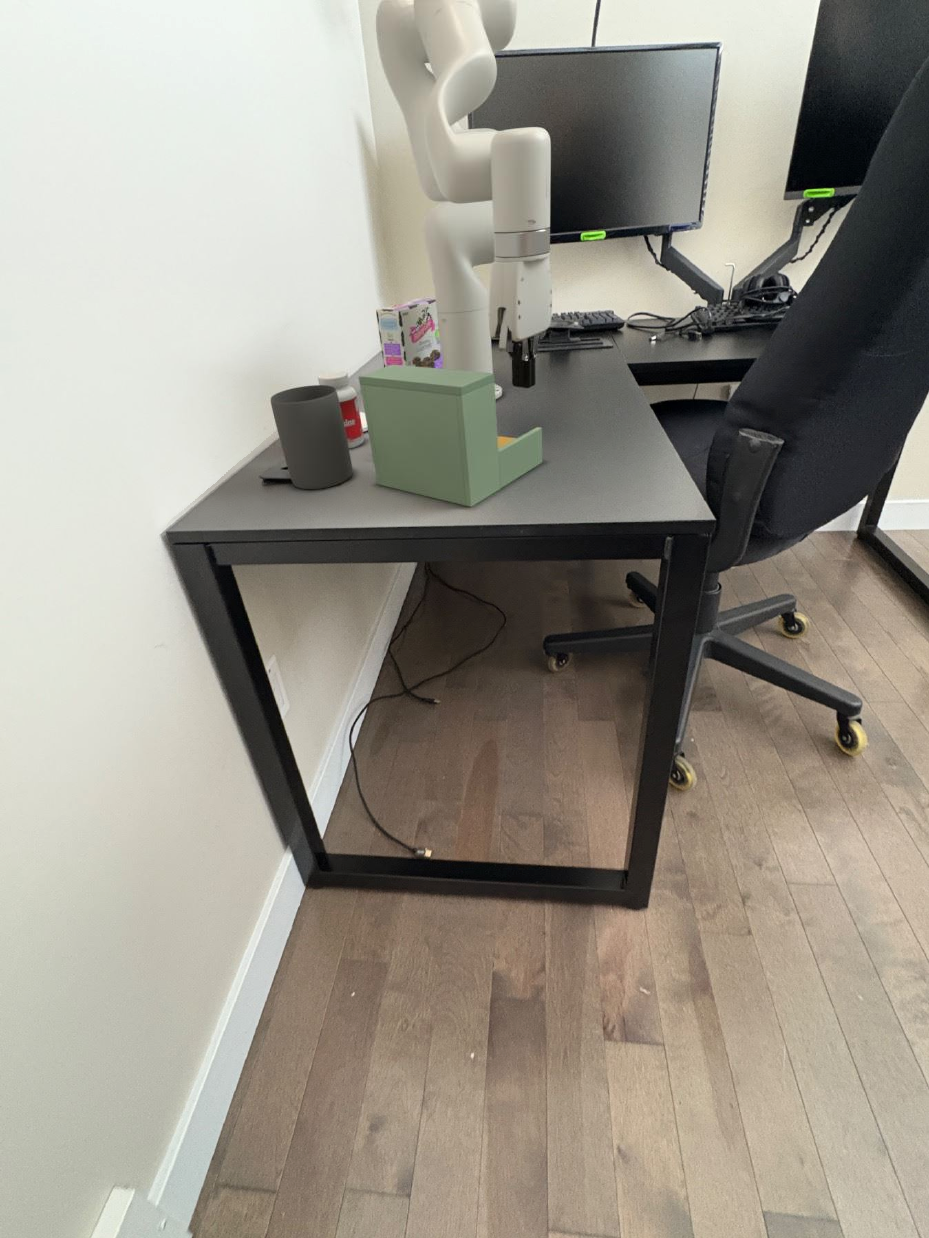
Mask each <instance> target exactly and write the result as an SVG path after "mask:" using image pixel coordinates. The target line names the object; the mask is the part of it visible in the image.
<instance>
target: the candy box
mask: <svg viewBox="0 0 929 1238" xmlns="http://www.w3.org/2000/svg"><path fill="white" fill-rule="evenodd" d="M375 314H376V315H375V316H376V320H377V328H378V336H379V341H380V342H379V343H380V350H381V355H382V362H383V368H384V367H387V366H390V365H403V366H415V367H427V368H438V369H443V366H442V356H441V346H440V337H439V327H438V317H437V308H436V299H435V298H415V299H412V300H408V301H405V302H401V303H398V304H394V305H391V306H386V307H383V308H378V309H375Z"/></svg>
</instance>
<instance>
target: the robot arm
mask: <svg viewBox="0 0 929 1238" xmlns="http://www.w3.org/2000/svg"><path fill="white" fill-rule="evenodd" d="M517 9H518V8H517V0H381V1H380V2H379V4H378V7H377V10H376V15H375V34H376V41H377V48H378V53H379V59H380V62H381V66H382V69H383V72H384V76H385V78H386V81H387V84H388V86H389V88H390V90H391V92H392V94H393V96H394V98H395V100H396V102H397V104H398V106H399V108H400V111H401V113H402V115H403V118H404V123H405V125H406V130H407V135H408V139H409V143H410V148H411V151H412V156H413V161H414V165H415V169H416V173H417V177H418V181H419V184H420V187H421V189H422V191H423V194H424V195H425V197H426V198H427V199H429V200H430V201H433V202H438V203H439V202H441V203H439V204H437V205H435V206H433V207H432V208H430V209H429V210H428V212H427V213H426V214H425V217H424V219H423V224H422V235H423V241H424V246H425V249H426V250H425V251H426V253H427V258H428V262H429V267H430V271H431V277H432V283H433V290H434V297H435V298H434V299H436V308H437V317H438V327H439V337H440V346H441V356H442V366H443V369H450V370H461V371H473V372H484V373H494V368H493V350H492V349H493V348H492V340H494V341H497V340H499V341H498V351H499V352H503V353H507V354H508V358H509V360H510V361H511V379H512V380H511V385H512V386H513V387H515V388H521V389H530V388H532V387H534V386H535V385H536V358H537V356H538V352H539V344H540V342H541V341H542V340H543V339H544V338H545V337H546V334H547V330H548V329H549V327H550V326H551V325H552V316H553V315H552V314H553V290H552V289H553V286H552V272H551V263H550V256H551V178H552V177H551V173H552V172H551V170H552V169H551V167H552V166H551V165H552V164H551V163H552V161H551V160H552V152H551V151H552V150H551V149H552V145H551V144H552V143H551V136H550V134H549V132H548V131H547V130H546V129H545V128H543V127H539V126H530V127H518V128H510V129H503V130H496V129H494V128H488V127H484V128H483V127H481V128H469V129H467V128H463V127H461V125H460V124H459V121H460V120H462V119H463V118H465V117H466V116H468V115H469V114H472V112H475V110H477V109H479V108H480V106H482V105H483V104H484V103H485V102H486V101H487V99H488V98H489V96H490V95H491V93H492V92H493V89H494V87H495V85H496V81H497V75H498V65H497V60H496V57H495V54H497V53H499V52H501V51H502V50H504V49H505V48H507V46H508V45H509V44H510V43H511V41H512V38H513V36H514V34H515V30H516V24H517V15H518V14H517V13H518V11H517ZM426 64H429V65H430V68H431V71H430V70H429V68H427V65H426ZM488 264H491V269H490V280H489V294H488V290H487V287H486V286H485V284H484V282H483V281H482V280H481V279H480V277H479V276H478V275H477V273H476V272H475V270H474V267H477V266H480V265H481V266H482V265H488ZM502 395H503V388H502V387H501V386H500V385H498V384H496V383H495V400H497V399H499V398H500V397H502Z"/></svg>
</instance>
